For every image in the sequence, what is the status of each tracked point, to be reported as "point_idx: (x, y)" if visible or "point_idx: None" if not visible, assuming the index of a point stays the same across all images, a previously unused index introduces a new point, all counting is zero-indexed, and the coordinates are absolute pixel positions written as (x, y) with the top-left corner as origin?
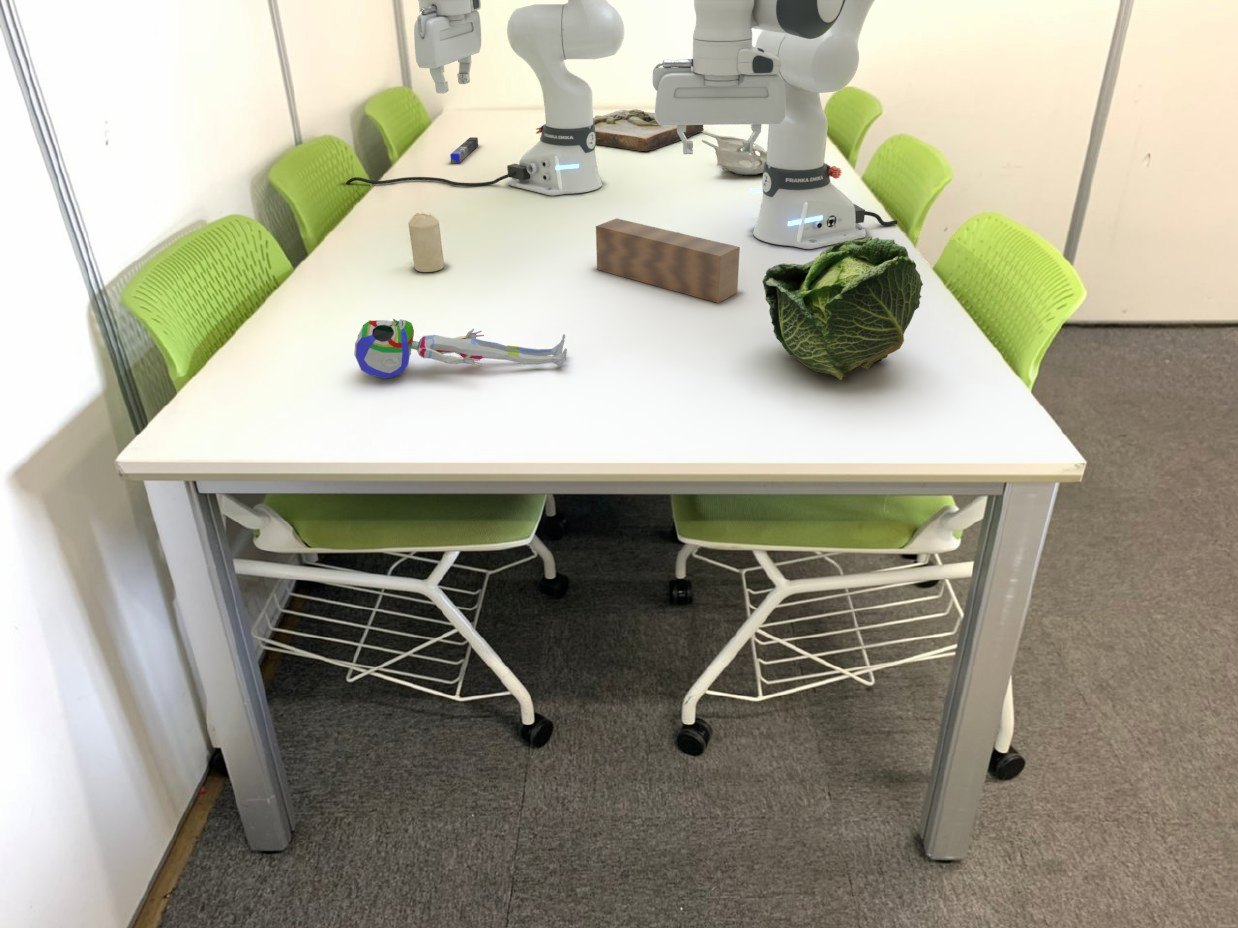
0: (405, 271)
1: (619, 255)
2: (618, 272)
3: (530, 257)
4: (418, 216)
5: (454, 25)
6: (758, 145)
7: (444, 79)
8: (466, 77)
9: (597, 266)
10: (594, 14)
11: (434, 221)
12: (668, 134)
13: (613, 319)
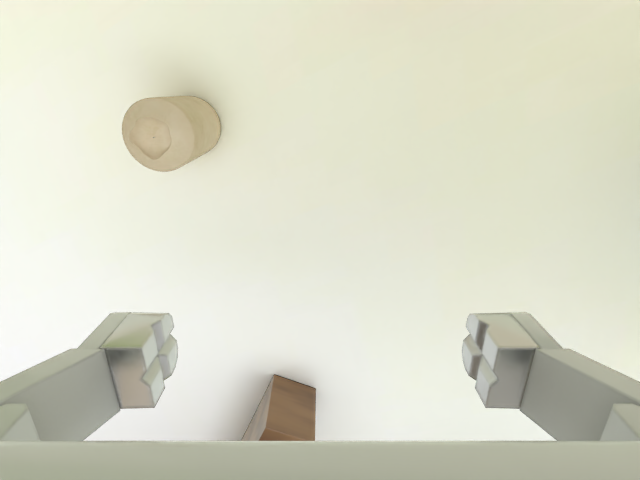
0: (163, 84)
1: (254, 428)
2: (259, 405)
3: (300, 274)
4: (155, 122)
5: None
6: None
7: (88, 429)
8: (478, 390)
9: (273, 378)
10: None
11: (158, 167)
12: None
13: (122, 426)
